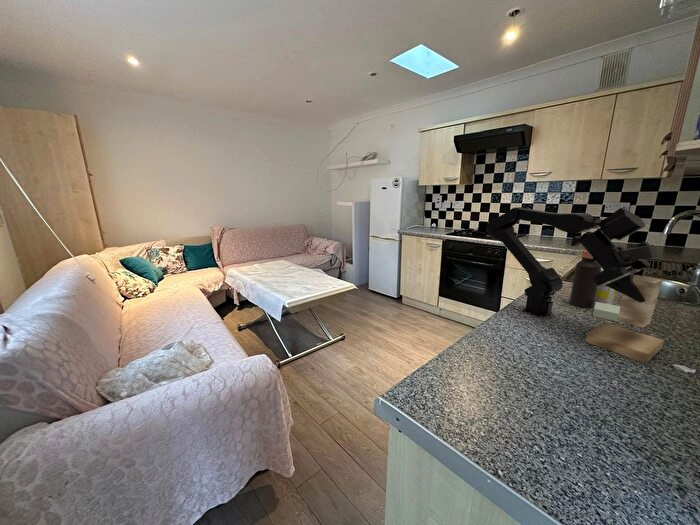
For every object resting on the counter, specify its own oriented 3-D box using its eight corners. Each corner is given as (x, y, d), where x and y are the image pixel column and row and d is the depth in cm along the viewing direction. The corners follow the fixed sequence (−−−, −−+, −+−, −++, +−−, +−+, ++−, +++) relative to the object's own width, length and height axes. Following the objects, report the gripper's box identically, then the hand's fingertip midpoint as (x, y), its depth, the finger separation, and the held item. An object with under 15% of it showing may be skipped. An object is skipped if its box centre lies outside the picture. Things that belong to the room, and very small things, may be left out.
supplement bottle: (603, 299, 104) (610, 267, 101) (618, 306, 98) (626, 272, 95) (584, 299, 105) (590, 266, 102) (597, 306, 99) (605, 271, 95)
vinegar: (574, 307, 98) (584, 252, 93) (565, 300, 104) (575, 248, 99) (597, 309, 96) (609, 253, 91) (587, 301, 102) (598, 249, 97)
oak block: (584, 342, 76) (586, 333, 75) (602, 331, 82) (604, 322, 81) (645, 365, 66) (648, 354, 65) (661, 350, 72) (664, 340, 71)
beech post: (616, 320, 74) (627, 277, 71) (624, 315, 76) (635, 274, 73) (642, 327, 70) (655, 283, 67) (650, 323, 72) (662, 279, 69)
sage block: (592, 317, 91) (594, 308, 90) (594, 309, 97) (596, 301, 96) (626, 324, 86) (628, 315, 85) (626, 316, 91) (628, 307, 90)
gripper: (619, 235, 66) (674, 292, 59) (648, 229, 75) (699, 278, 68) (574, 260, 75) (618, 312, 68) (605, 252, 83) (646, 297, 77)
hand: (646, 299), depth 70 cm, fingers closed on beech post, 5 cm apart
